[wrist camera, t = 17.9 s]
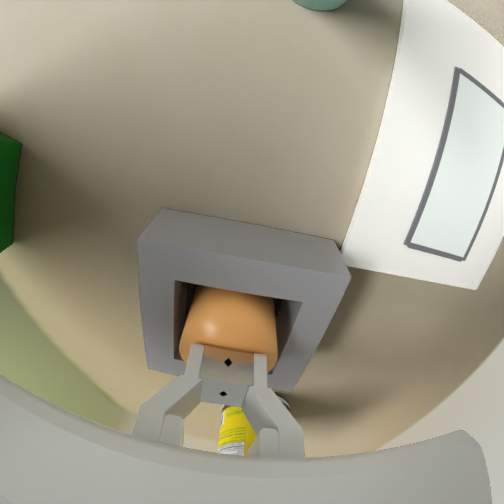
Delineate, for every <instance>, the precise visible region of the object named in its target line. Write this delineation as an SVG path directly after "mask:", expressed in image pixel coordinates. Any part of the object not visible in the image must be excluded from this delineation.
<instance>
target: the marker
mask: <svg viewBox="0 0 504 504" xmlns="http://www.w3.org/2000/svg"><path fill="white" fill-rule="evenodd" d="M293 1H294V2H296V3H297V4H299V5H301V6H303V7H306V8H309V9H312V10H319V11H328V10H333V9H336V8H338V7H340V6H342V5H343V4H344V3H345V2H346V1H347V0H293Z"/></svg>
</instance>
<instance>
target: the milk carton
mask: <svg viewBox="0 0 504 504" xmlns="http://www.w3.org/2000/svg"><path fill="white" fill-rule="evenodd" d="M21 145H22V144H21V143H19V142H17V141H15V140H13V139H11V138H9V137H8V136H6V135H4V134H2V133H0V253H1V252H2V251H3V250H5V249H6V248H7V247H9V246H10V245H12V244H13V215H14V198H15V187H16V178H17V170H18V163H19V156H20V151H21Z"/></svg>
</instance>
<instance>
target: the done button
mask: <svg viewBox="0 0 504 504" xmlns="http://www.w3.org/2000/svg"><path fill="white" fill-rule="evenodd" d="M192 343H197V344H202V345H207V346H212V347H217V348H222V349H227V350H229V349H230V350H237V351H244V352H252V353H257V354H265V355H266V356H267V373H268V372H269V371H270V370H272V368H273V367H274V366H275V364H276V361H277V356H278V353H277V335H276V318H275V302H274V298H273V297H267V296H260V295H254V294H248V293H242V292H237V291H231V290H225V289H220V288H214V287H209V286H203V285H198V286H197V287H196V290H195V293H194V296H193V299H192V303H191V306H190V309H189V313H188V316H187V319H186V323H185V326H184V330H183V333H182V337H181V340H180V344H179V352H180V355H181V357H182V359H183V361H184V362H185V363H186V364H187V361H188V357H189V353H190V348H191V345H192Z"/></svg>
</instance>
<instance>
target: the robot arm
mask: <svg viewBox="0 0 504 504" xmlns="http://www.w3.org/2000/svg"><path fill="white" fill-rule="evenodd" d="M200 401H201V402H208V403H215V404H222V405H228V406H235V407H241V409H242V411H243V413H244V415H245V416H246V418H247V420H248V422H249V424H250V425H251V427H252V429H253V431H254V432H255V434H256V436H257V437H256V438H255V440H254V441H253V443H252V444H251V446H250V447H249V449H248V455H247V456H242V455H232V454H223V453H216V452H209V451H202V450H196V449H190V448H185V447H183V443H184V428H183V420H184V418H185V417H186V416H187V415H188V414H189V413H190V412H191V411H192V410H193V409H194V408H195V407H196V406H197V405H198V404H199V403H200ZM0 504H492V497H491V488H490V482H489V476H488V471H487V466H486V462H485V458H484V454H483V451H482V448H481V446H480V444H479V443H478V442H477V441H476V440H475V439H474V438H472V437H471V436H470V435H469V434H468V433H467V432H465V431H463V430H458V431H454V432H452V433H448V434H445V435H442V436H439V437H435V438H432V439H428V440H425V441H421V442H417V443H413V444H409V445H405V446H400V447H395V448H390V449H384V450H378V451H372V452H365V453H358V454H349V455H339V456H327V457H305V452H304V439H303V429H302V428H301V426H300V425H299V424H298V423H297V421H296V420H295V419H294V418H293V416H292V415H291V414H290V412H289V411H288V410H287V408H286V407H285V406H284V405H283V403H282V402H281V401H280V399H279V398H278V397H277V395H276V394H275V393H274V391H273V390H272V389H271V388H268V385H267V356H266V355H265V354H257V353H252V352H244V351H237V350H230V349H229V350H227V349H222V348H217V347H212V346H207V345H202V344H197V343H192V345H191V348H190V353H189V357H188V361H187V365H186V369H185V374H184V375H182V374H180V375H179V376H178V377H177V378H175V379H174V380H173V381H172V382H171V383H169V384H168V385H167V386H166V387H164V388H163V389H162V390H160V391H159V392H158V393H157V394H155V395H154V396H153V397H152V398H150V399H149V400H148V401H146V402H145V403H144V404H143V405H141V407H140V410H139V413H138V417H137V420H136V424H135V427H134V430H133V434H129V433H126V432H123V431H120V430H117V429H114V428H111V427H108V426H105V425H102V424H99V423H97V422H94V421H92V420H89V419H87V418H84V417H82V416H79V415H77V414H75V413H73V412H70V411H68V410H66V409H64V408H62V407H59V406H57V405H55V404H53V403H51V402H49V401H47V400H45V399H43V398H42V397H40V396H38V395H36V394H34V393H32V392H30V391H29V390H27V389H25V388H23V387H22V386H20V385H18V384H17V383H15V382H13V381H12V380H10V379H9V378H7V377H6V376H4V375H2V374H1V373H0Z"/></svg>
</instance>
